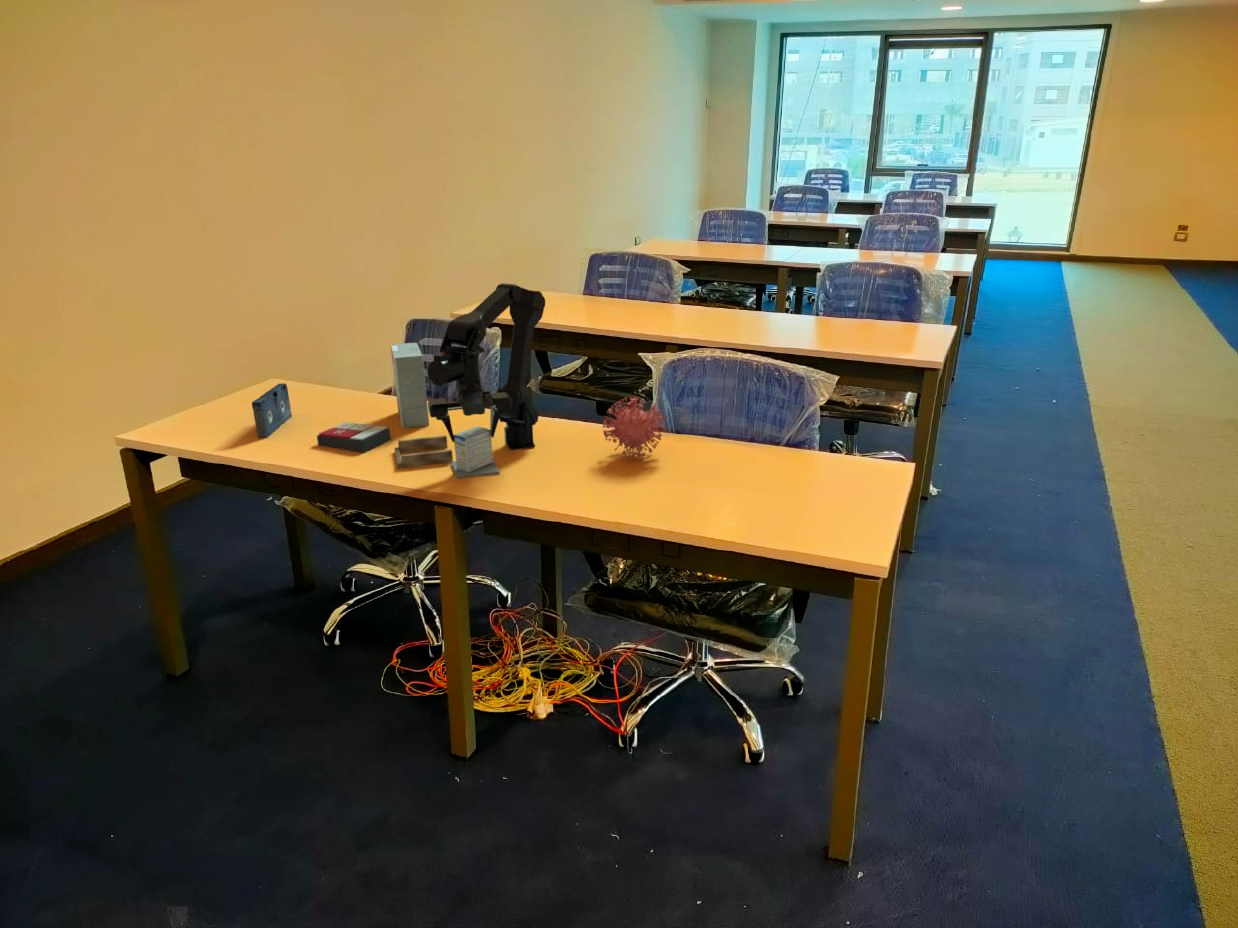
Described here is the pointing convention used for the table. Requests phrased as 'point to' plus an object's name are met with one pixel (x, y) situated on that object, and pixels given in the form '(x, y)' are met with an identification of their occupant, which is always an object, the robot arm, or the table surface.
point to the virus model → (633, 427)
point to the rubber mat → (480, 471)
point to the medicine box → (473, 448)
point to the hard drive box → (410, 385)
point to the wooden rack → (425, 457)
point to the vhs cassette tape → (271, 410)
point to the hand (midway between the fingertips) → (472, 439)
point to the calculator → (354, 437)
